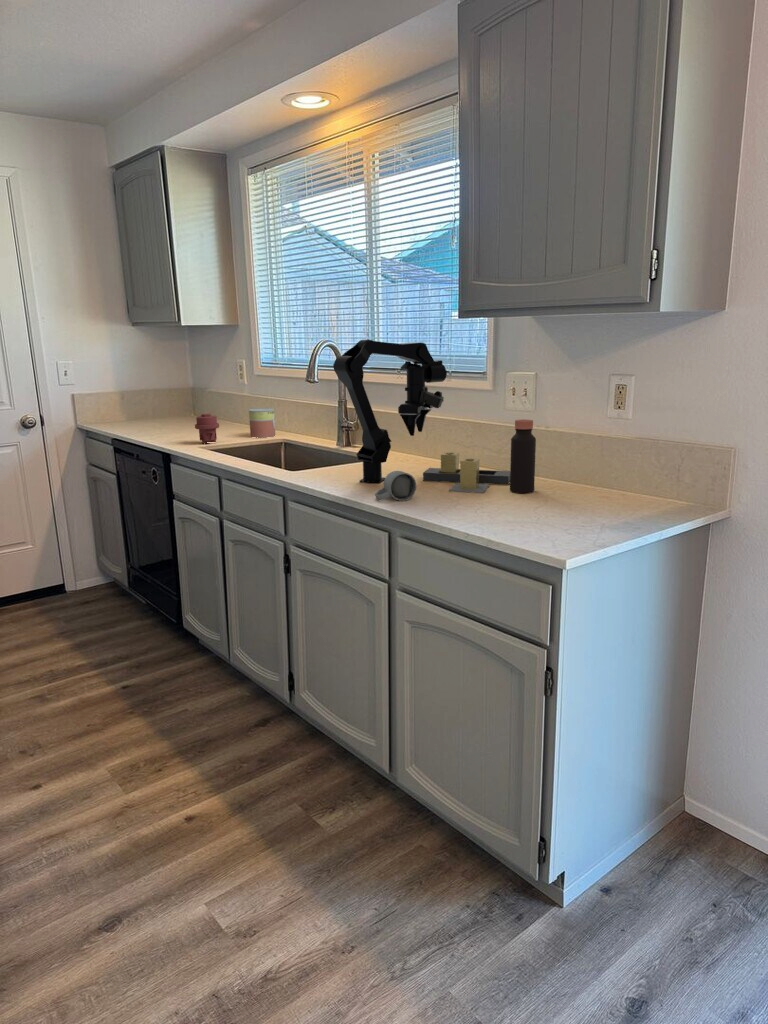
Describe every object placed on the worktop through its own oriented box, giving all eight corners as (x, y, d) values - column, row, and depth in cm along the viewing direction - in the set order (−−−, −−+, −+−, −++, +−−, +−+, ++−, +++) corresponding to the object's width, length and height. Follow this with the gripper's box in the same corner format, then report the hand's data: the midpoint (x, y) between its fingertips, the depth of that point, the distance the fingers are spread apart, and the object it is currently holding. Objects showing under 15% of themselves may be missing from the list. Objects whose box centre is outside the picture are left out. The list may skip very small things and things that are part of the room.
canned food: (277, 437, 314) (275, 410, 311) (251, 438, 312) (249, 411, 309) (274, 434, 325) (272, 407, 322) (249, 435, 322) (247, 409, 319)
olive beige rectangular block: (476, 489, 202) (476, 461, 200) (460, 488, 203) (460, 460, 201) (478, 485, 206) (479, 458, 204) (463, 485, 208) (463, 457, 206)
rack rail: (508, 484, 209) (508, 476, 209) (423, 480, 217) (423, 472, 216) (512, 479, 217) (512, 471, 216) (429, 475, 224) (429, 467, 224)
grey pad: (483, 493, 199) (483, 491, 199) (448, 491, 202) (448, 490, 202) (489, 485, 208) (489, 484, 208) (456, 484, 211) (456, 483, 211)
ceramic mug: (407, 493, 200) (406, 466, 198) (417, 499, 193) (416, 472, 191) (371, 497, 197) (370, 470, 195) (380, 503, 190) (378, 475, 188)
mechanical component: (198, 445, 295) (194, 442, 304) (222, 443, 299) (217, 440, 308) (196, 416, 292) (192, 413, 301) (220, 414, 296) (215, 412, 305)
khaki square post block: (455, 481, 216) (455, 454, 214) (440, 480, 217) (440, 454, 215) (458, 478, 220) (458, 452, 218) (444, 477, 221) (444, 451, 219)
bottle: (531, 494, 196) (533, 422, 191) (507, 492, 199) (508, 421, 194) (536, 489, 202) (539, 419, 197) (513, 487, 205) (515, 418, 200)
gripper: (433, 386, 209) (433, 438, 213) (448, 381, 226) (448, 430, 230) (397, 386, 213) (398, 437, 217) (414, 381, 230) (415, 429, 234)
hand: (416, 433), depth 224 cm, fingers open, 9 cm apart
